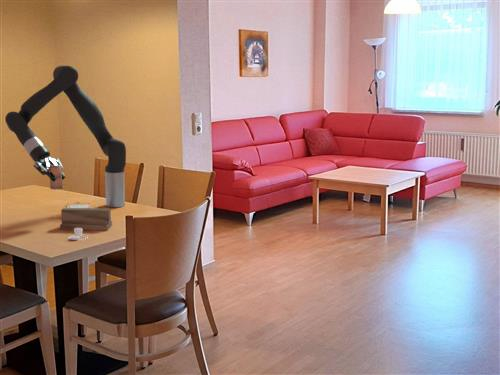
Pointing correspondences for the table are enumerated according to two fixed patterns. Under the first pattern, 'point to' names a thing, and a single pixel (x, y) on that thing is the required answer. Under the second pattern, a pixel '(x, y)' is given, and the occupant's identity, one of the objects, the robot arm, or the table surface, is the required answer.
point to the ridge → (86, 218)
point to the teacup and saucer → (77, 234)
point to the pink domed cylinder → (58, 174)
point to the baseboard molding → (78, 206)
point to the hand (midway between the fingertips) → (59, 179)
